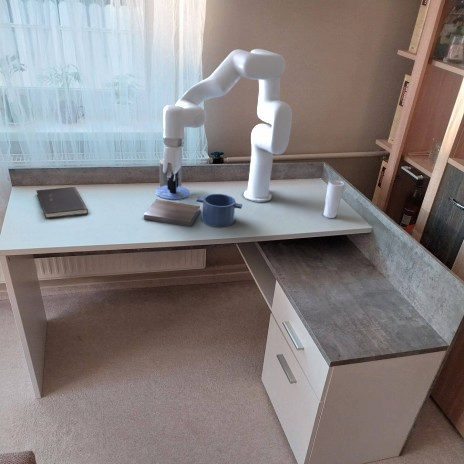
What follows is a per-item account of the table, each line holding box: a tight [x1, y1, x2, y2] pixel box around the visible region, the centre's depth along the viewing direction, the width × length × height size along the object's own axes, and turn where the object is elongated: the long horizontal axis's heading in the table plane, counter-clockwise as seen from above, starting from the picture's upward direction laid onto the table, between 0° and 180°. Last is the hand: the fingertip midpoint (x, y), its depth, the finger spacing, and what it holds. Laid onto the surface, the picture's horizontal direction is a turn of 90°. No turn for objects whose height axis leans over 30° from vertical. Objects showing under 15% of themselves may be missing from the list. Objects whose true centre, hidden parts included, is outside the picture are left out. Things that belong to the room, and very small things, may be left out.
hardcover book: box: [35, 186, 89, 220], centre depth 195 cm, size 16×23×2 cm
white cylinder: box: [323, 179, 345, 219], centre depth 204 cm, size 7×7×15 cm
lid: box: [154, 178, 191, 201], centre depth 189 cm, size 14×14×7 cm
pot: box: [195, 193, 243, 228], centre depth 194 cm, size 13×18×8 cm
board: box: [143, 198, 201, 227], centre depth 196 cm, size 16×19×2 cm
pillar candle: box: [159, 158, 183, 187], centre depth 210 cm, size 10×10×15 cm
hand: (172, 187), depth 190 cm, fingers closed on lid, 2 cm apart
